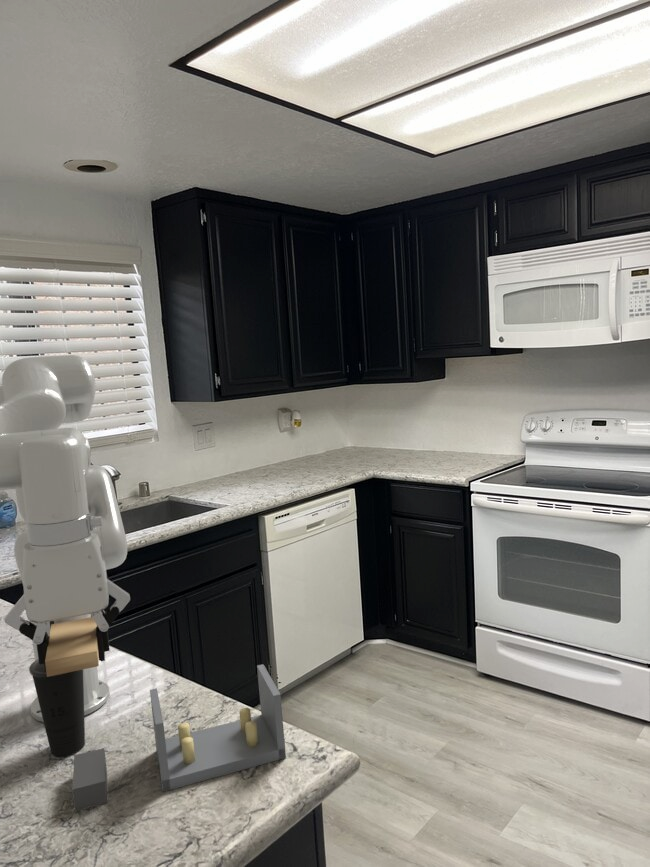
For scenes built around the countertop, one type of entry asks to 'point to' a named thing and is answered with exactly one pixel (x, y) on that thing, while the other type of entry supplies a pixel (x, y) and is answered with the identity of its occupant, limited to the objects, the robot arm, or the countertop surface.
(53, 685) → the drinking cup
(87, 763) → the block
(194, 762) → the cabinet stand
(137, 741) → the countertop surface
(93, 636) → the shelf board
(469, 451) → the countertop surface
